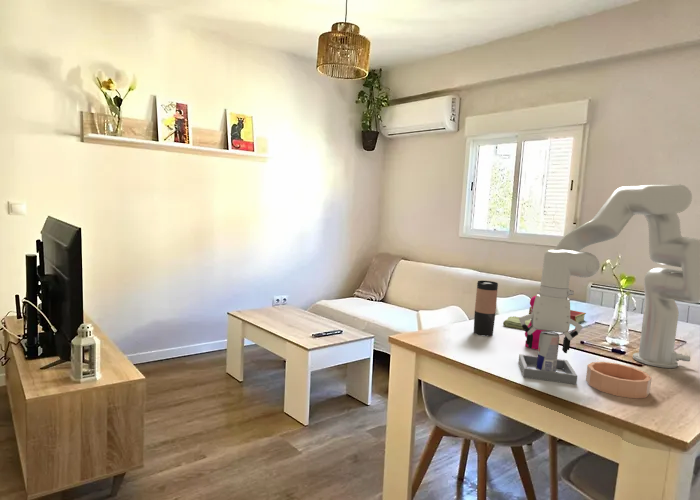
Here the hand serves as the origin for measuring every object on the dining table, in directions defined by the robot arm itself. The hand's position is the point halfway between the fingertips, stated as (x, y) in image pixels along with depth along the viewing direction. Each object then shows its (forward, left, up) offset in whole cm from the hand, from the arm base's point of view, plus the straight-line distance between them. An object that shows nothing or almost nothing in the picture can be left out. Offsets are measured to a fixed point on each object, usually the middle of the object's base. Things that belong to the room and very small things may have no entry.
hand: (547, 349), depth 137 cm
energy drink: (0, 0, -7) cm, 7 cm away
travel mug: (+17, -37, -7) cm, 41 cm away
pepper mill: (-1, -27, -7) cm, 28 cm away
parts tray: (0, 0, -7) cm, 7 cm away
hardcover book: (-18, -84, -8) cm, 86 cm away
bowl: (-18, +4, -7) cm, 20 cm away
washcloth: (-2, -57, -8) cm, 57 cm away
